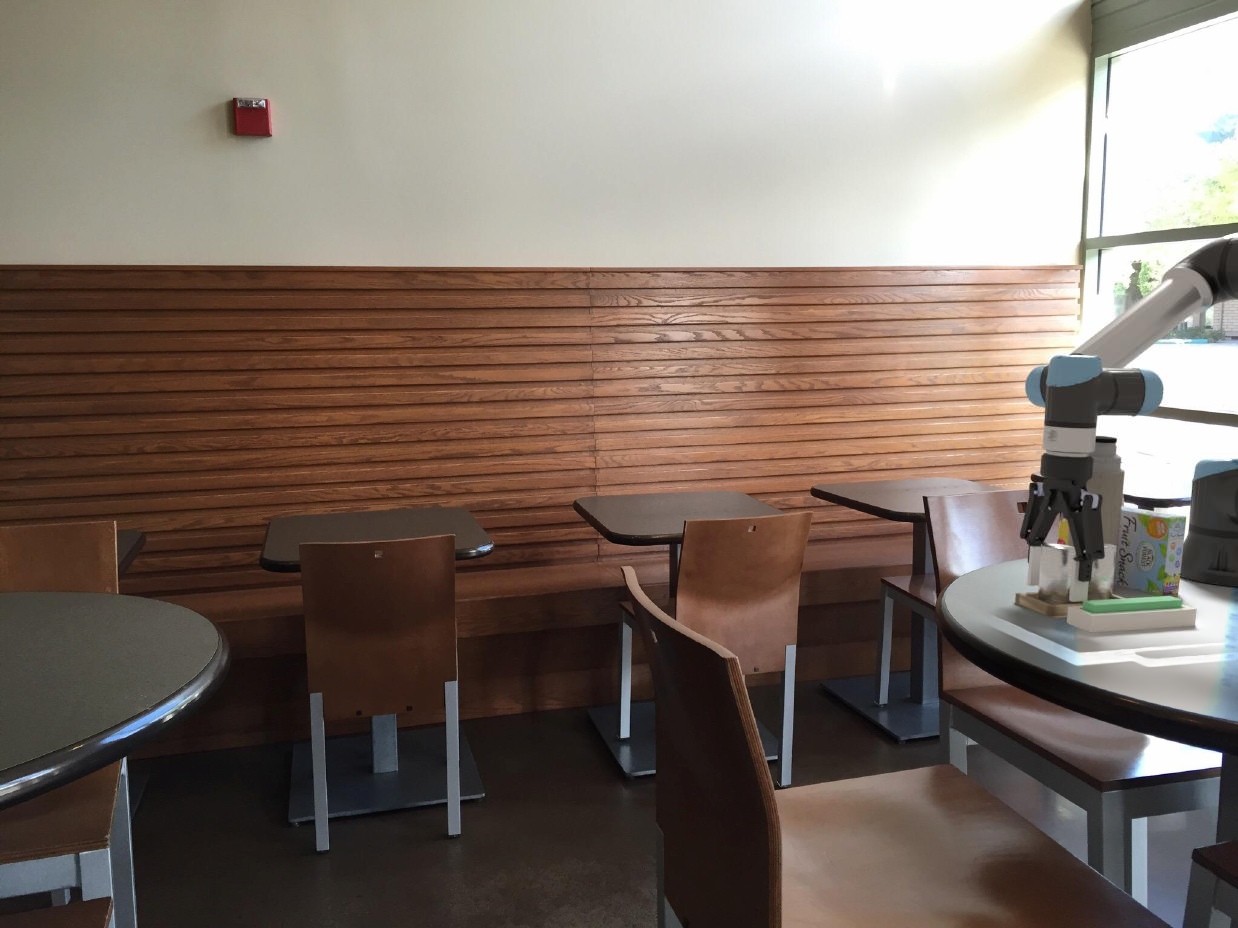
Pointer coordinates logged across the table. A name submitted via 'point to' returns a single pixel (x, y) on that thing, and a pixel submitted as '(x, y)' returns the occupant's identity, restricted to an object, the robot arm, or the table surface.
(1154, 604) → the green rectangular bar
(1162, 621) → the housing
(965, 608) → the table surface
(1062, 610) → the wooden divided tray
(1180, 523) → the snack box
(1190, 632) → the table surface
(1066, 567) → the billet
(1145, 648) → the table surface
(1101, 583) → the cylinder
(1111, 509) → the thermos bottle
